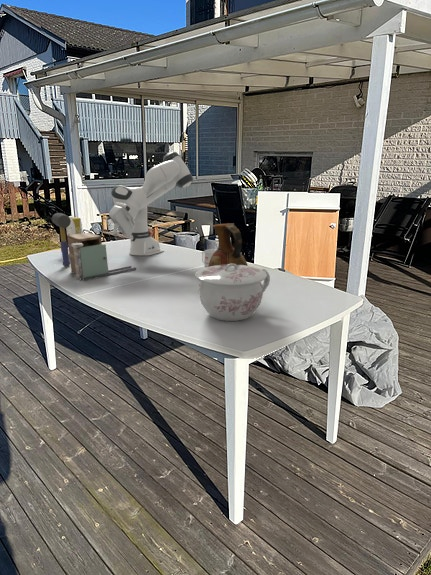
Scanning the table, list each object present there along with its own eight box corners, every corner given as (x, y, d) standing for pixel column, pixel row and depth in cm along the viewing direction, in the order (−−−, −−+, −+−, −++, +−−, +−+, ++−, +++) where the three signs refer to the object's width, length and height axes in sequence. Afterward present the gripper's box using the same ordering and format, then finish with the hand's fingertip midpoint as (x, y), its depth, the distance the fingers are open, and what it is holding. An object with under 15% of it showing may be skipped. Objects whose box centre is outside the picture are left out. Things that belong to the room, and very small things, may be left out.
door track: (130, 267, 225) (130, 265, 225) (135, 269, 221) (135, 267, 221) (79, 278, 206) (79, 276, 205) (84, 280, 202) (84, 278, 201)
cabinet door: (106, 273, 214) (103, 243, 210) (109, 274, 212) (106, 244, 207) (78, 279, 204) (75, 248, 200) (81, 280, 202) (78, 249, 197)
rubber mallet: (77, 267, 225) (70, 214, 216) (63, 270, 221) (56, 215, 212) (69, 263, 235) (63, 211, 226) (56, 265, 230) (49, 212, 221)
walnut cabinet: (92, 268, 225) (88, 232, 218) (108, 274, 212) (104, 237, 206) (63, 273, 214) (59, 236, 208) (79, 280, 201) (74, 241, 195)
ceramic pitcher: (227, 277, 207) (227, 218, 198) (257, 285, 193) (259, 223, 184) (199, 285, 194) (198, 223, 185) (229, 294, 180) (230, 228, 171)
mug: (224, 270, 219) (224, 250, 215) (213, 274, 213) (213, 253, 209) (208, 266, 226) (208, 247, 223) (197, 270, 220) (196, 250, 217)
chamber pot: (188, 326, 147) (186, 271, 140) (203, 301, 172) (203, 253, 166) (264, 331, 142) (267, 275, 136) (269, 304, 168) (271, 256, 161)
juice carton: (67, 253, 260) (63, 216, 253) (79, 251, 265) (75, 214, 258) (75, 255, 254) (70, 217, 247) (86, 253, 259) (82, 216, 252)
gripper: (130, 223, 226) (118, 243, 222) (115, 199, 209) (101, 220, 204) (139, 226, 224) (127, 246, 219) (124, 202, 206) (110, 223, 202)
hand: (114, 233), depth 211 cm, fingers closed
